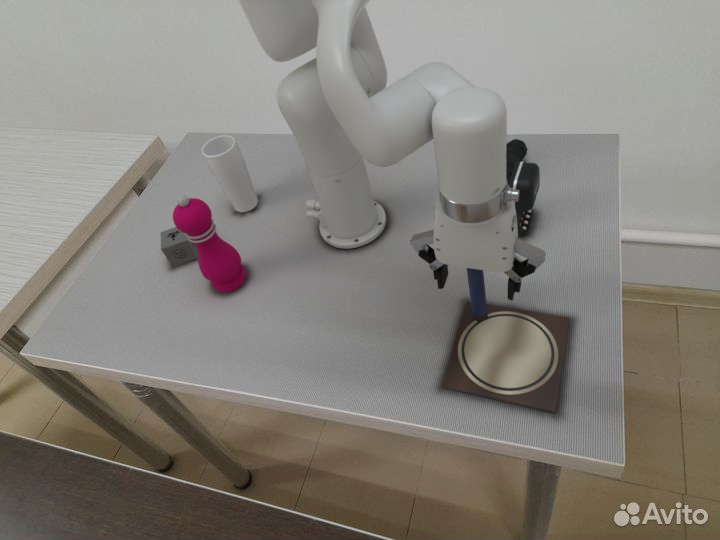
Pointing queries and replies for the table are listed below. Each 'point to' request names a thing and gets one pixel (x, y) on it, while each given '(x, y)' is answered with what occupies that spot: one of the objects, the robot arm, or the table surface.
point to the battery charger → (525, 192)
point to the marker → (477, 294)
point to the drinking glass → (230, 172)
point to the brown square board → (509, 357)
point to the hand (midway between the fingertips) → (476, 286)
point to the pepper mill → (209, 245)
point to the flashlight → (514, 156)
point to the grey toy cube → (177, 247)
